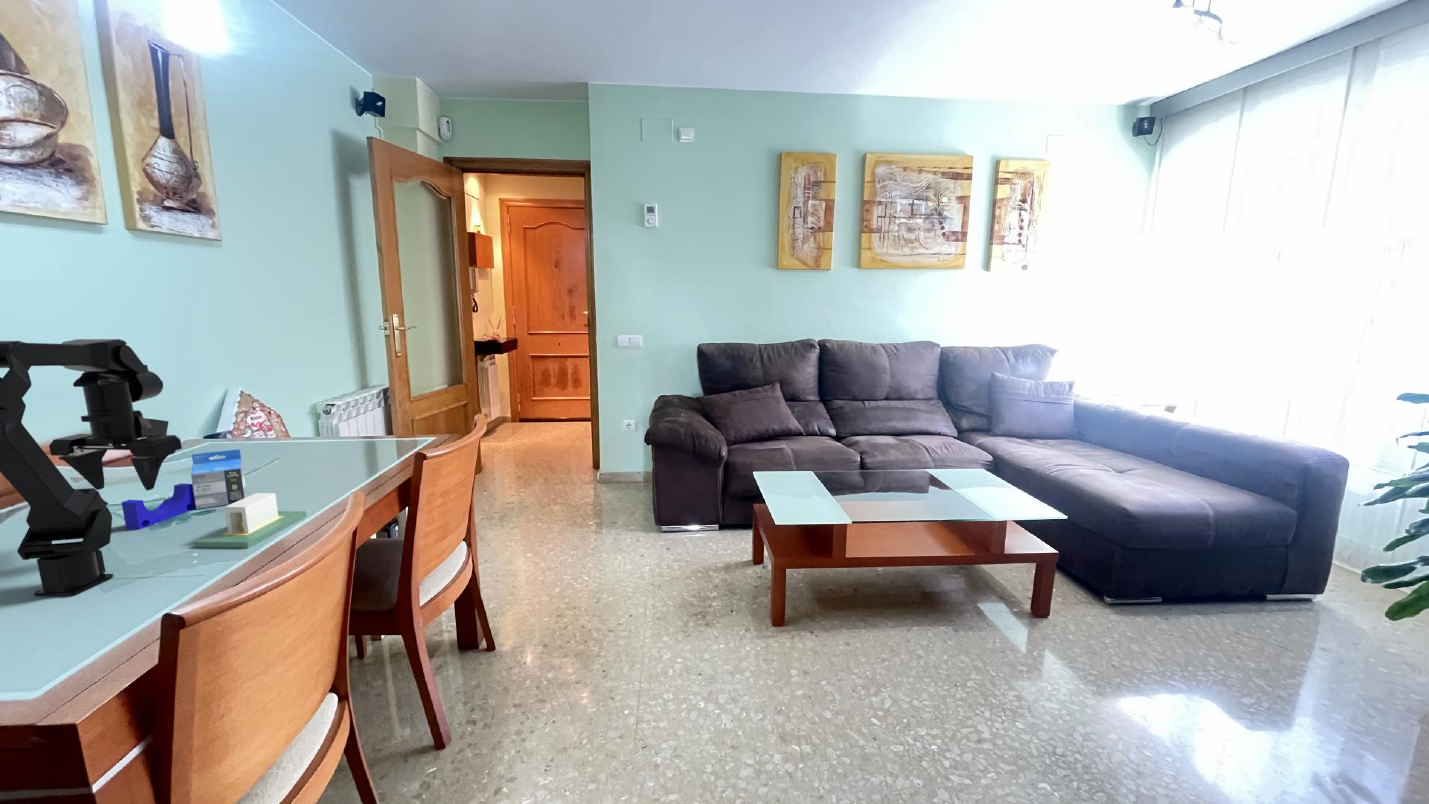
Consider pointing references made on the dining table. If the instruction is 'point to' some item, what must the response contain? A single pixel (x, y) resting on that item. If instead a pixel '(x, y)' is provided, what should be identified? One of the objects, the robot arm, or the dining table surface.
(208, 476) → the label tape box
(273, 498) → the box
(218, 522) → the dining table surface
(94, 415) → the robot arm
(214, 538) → the board
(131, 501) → the blue cradle block
